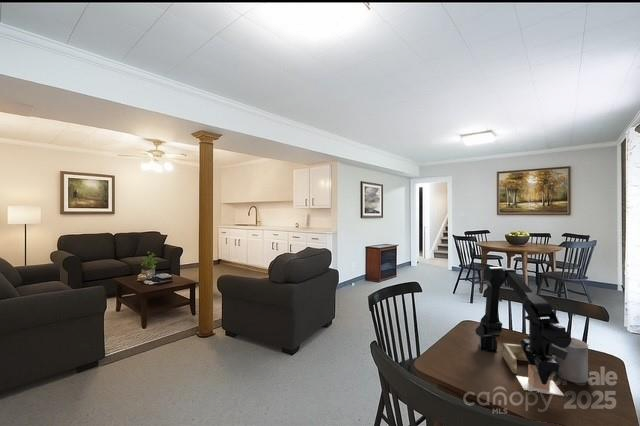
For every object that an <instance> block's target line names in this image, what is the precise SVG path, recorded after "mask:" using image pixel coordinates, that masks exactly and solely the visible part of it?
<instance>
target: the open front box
mask: <svg viewBox="0 0 640 426" xmlns="http://www.w3.org/2000/svg"><path fill="white" fill-rule="evenodd" d="M502 357H503V359H504V360H505V362H506V364H507V365H508V367H509V369H510V371H511V372H512V373H513V374H517V372H518V369H517V367H518V365H517V363H518V362H517V360H518V361H525V362H526V361H527V362H528V360H527V358H526V356H525V353H524V351H523V350H522V347H521V344H515V343H504V342H503V343H502Z"/></svg>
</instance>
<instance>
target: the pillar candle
mask: <svg viewBox="0 0 640 426" xmlns="http://www.w3.org/2000/svg"><path fill="white" fill-rule="evenodd" d="M565 349H566V350H567V351H568V352H569V353H568V355H567V357H566V359H565V360H563V359H561V358H559V357H557V356H556V359H555V361H556V362H557V363H558V364H559V365H560V372H555V373H556V375H557V376H558V377H560V378H562V379H563V380H565V381H568V382H570V383H574V384H585V383H587V382H588V380H589V375H588V374H589V353H588V352H589V344H587V342H585V341H583V340H581V339H580V338H579V339H578V338H575V337H571V343H570V345H569V346H568V347H566V348H565Z"/></svg>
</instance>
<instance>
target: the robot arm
mask: <svg viewBox="0 0 640 426" xmlns="http://www.w3.org/2000/svg"><path fill="white" fill-rule="evenodd" d="M483 280H484V282H485V284H486V285H487V287H486V299H485V311H484V312H485V313H484V315H483V316H482V317H481V318H480V321H479V325H478V326H477V327H476V328H475V329H474V330H475V335H477V336H478V337H479V342H478V347H479V349H480V350H481V352H491V353H498V340H497V338H500V335H501V333H502V332H503V322H501V321H500V319H499V317H498V316H499V303H500V294H501V293H500V292H501V287H502V286H503V284H504V283H505V282H507V284H508V285H509V286H510V288H512V290H513V291H514V292H515V294H517V296H518V297H519V298H520V300H521V301H522V307H523V310H524V311H525V313H526V316H524V319H525V320H528V323H529V324H528V331H529V332H528V333H529V334H526V336H527V337H526V338H528V339H525V338H524V339H522V340H521V341H520V345H521V347H522V350H523V351H524V353H525V356H526V358H527V360H528V361H527V362H528V364H529V365H535V367H536V369H537V372H538V374H539V377H540V380H541V382H542V384H544V385H546V384H547V381H548V379H549V377H550V378H551V376H552V373H556V372H560V365H559V364H558V363H557V362H556V359H553V358H550V357H548V356H551V357H552V355H554V356H557V357H559V358H561V359H563V360H565V359H566V357H567V355H568V353H569V352H568V351H567V350H566V349H565V348H566V347H568V346H569V345H570V343H571V338H572V337H571V335H570V333H569V332H568V331H566V330H567V329H566V327H565V326H562V325H559V324H560V321H559V319H558V317H557V315H556V313H555V311H554V309H553V307H552V306H551V304H550V303H549V302H548V301H547V300H546V299H545V298H543V297H542V296H540V295H538V294H536V293H534V291H533V290H532V289H531V288H530V287H529V286H528V285H527V284H526V283H525V281H524V280H523V279H522V278H521V277H520V276H519V274H518V273H517V271H516V269H514V268H511V267H509V268H504V267H503V266H486V267H485V268H484V269H483ZM546 355H547V356H546Z"/></svg>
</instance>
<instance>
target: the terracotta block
mask: <svg viewBox="0 0 640 426" xmlns="http://www.w3.org/2000/svg"><path fill="white" fill-rule="evenodd" d="M527 367H528V368H527V371H528V373H527V377H528V380H529V382H530V383H531V385H532V386H533V388H540V389H547V390H550V380H551V376H550V377H549V379H548V381H547V384H546V385H544V384H542V382H541V380H540V377H539V374H538V372H537V369H536V367H535V365H530V364H529V363H528V365H527Z"/></svg>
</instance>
